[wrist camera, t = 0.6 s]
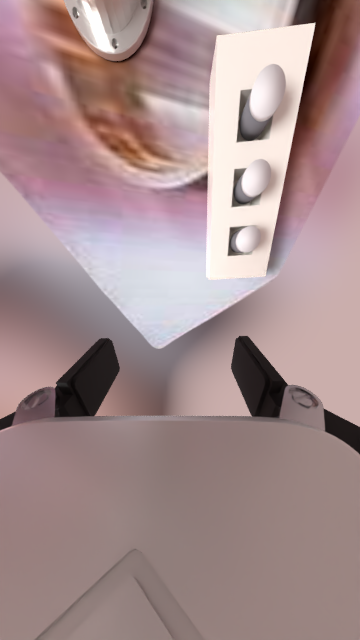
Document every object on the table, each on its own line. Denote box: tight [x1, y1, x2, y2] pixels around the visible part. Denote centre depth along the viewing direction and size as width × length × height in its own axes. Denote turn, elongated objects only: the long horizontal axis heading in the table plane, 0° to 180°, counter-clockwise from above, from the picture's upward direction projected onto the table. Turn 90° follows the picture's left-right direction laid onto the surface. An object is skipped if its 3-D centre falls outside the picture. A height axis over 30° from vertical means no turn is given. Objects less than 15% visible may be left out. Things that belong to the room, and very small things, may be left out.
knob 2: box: [239, 64, 286, 141], centre depth 19 cm, size 4×4×4 cm
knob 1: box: [230, 226, 261, 253], centre depth 26 cm, size 4×4×4 cm
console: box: [206, 23, 315, 280], centre depth 26 cm, size 30×12×5 cm, turn 4°
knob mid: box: [234, 159, 271, 204], centre depth 22 cm, size 4×4×4 cm
